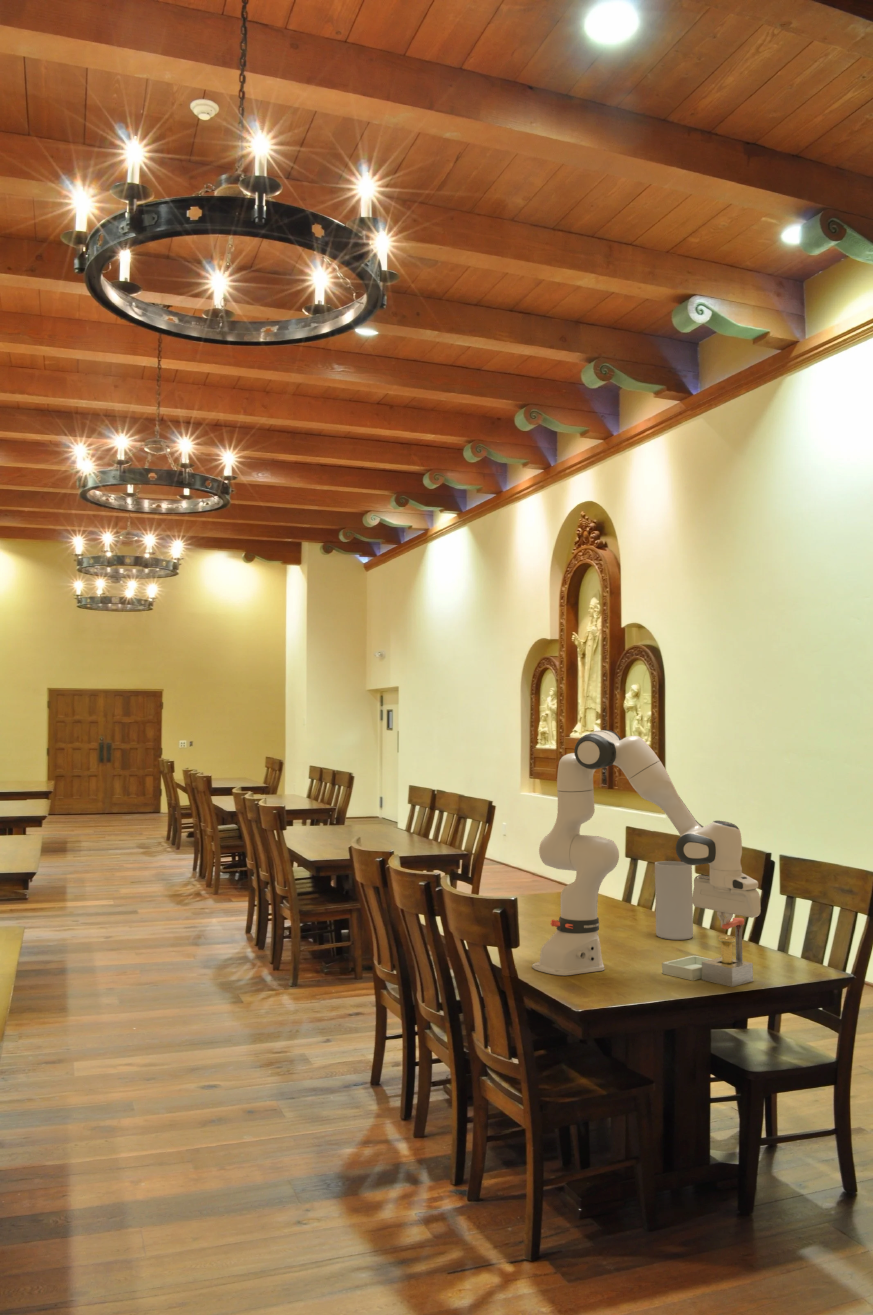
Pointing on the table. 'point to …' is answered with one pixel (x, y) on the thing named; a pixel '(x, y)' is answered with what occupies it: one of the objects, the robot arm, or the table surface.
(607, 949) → the table surface
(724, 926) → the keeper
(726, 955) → the pin
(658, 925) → the cylinder vase
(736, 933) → the socket block
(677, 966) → the tray
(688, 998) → the table surface
